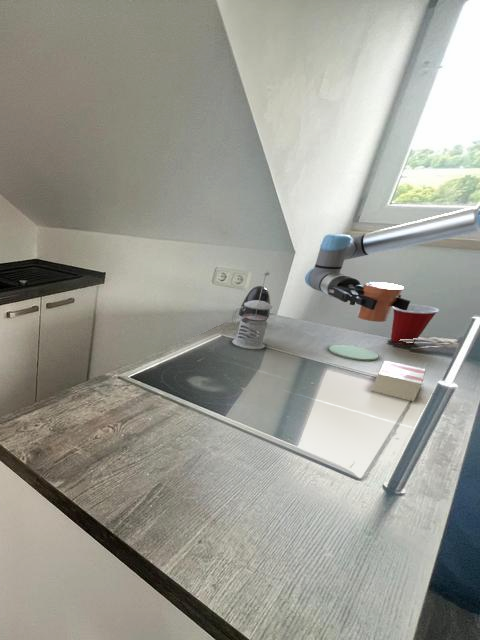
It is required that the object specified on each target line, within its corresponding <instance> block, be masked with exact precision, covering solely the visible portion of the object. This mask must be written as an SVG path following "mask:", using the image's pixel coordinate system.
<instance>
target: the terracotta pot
mask: <svg viewBox="0 0 480 640" xmlns="http://www.w3.org/2000/svg"><path fill="white" fill-rule="evenodd" d="M363 286H364V288H363V291H364V294H363V295H364V296H367V297H370V298H372V299H375V300H377V303H376V306H375V308H374V310H371V309H369V308H366V307H364V306H361V305H360V307H359V310H358V313H357V316H356V317H357V318H358V319H361V320H364V321H368V322H369V321H370V322H376V323H381V322H386V321H387V320H388V317H389V315H390V313H391V311H392V309H393V308H392V307H393V306H392V305H393V303H394V302H396V300H397V298H398V296H399V295H401V296H402V294H403V291H404V289H405V287H404V286H402V285H398V284H394V283H388V282H375V281H373V282H371V281H370V282H366V283H364V285H363Z"/></svg>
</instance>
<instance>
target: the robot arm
mask: <svg viewBox="0 0 480 640" xmlns="http://www.w3.org/2000/svg"><path fill="white" fill-rule="evenodd" d="M475 233H480V202H478V204H476V206H473V207H469V208H463V209H460V210H456V211H452V212H449V213H444V214H441V215H435V216H432V217H428V218H424V219H420V220H417V221H412V222H408V223H404V224H399V225H396V226H392V227H387V228H383V229H378V230H376V231H371V232H367V233H364V234H359V235H358V234H357V235H354V236H351V235H350V234H344V233H343V234H342V233H341V234H340V233H329V234H326V235H324V237H323V239H322V241H321V243H320V247H319V250H318V254H317V257H316V262H315V264H314V267H313V268H311V269H310V270H308V271H307V273H306V274H305V276H304V282H305V284H306V285H307V286H309V287H310V288H311V289H313V290H316V291H319V292H321V293H323V294H327V295H328V296H329V297H330V298H335V299H338V300H339V301H341V302H343V303H348V302H349V305H350V306H355V305H356V304H357V305H359V306H360V307H361V306H364V307H366V308H369V309H371V310H374V308H375V306H376V303H377V300H375V299H372V298H370V297H367V296H364V295H363V294H364V291H363V288H364V285H363V284H361V283H360V280H359V279H357V278H355V277H353V276H349V275H347V274H344V273H341V270H342V268H343V265H344V262H345V261H347V260H350V259H356V258H361V257H364V256H369V255H374V254H378V253H383V252H388V251H393V250H399V249H403V248H408V247H412V246H418V245H422V244H428V243H432V242H433V243H434V242H438V241H441V240H447V239H451V238H452V239H453V238H457V237H461V236H466V235H471V234H475ZM410 303H411V300H409V299H406V298H403V297H402V294H401V295H399V296H398V298H397V300H396V302H394V303H393V305H392V307H393V306H394V307H396V308H399V309H402V310H407V308H408V306H409V305H410Z"/></svg>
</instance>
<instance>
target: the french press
mask: <svg viewBox="0 0 480 640" xmlns="http://www.w3.org/2000/svg"><path fill="white" fill-rule="evenodd" d="M261 273H262V276H264V278H263V282H262V285H261V286H262V289H263V287H264V284H265V280H266V277H267V276H270V272H269V271H267V270H266V271H263V272H261ZM261 293H262V290H261ZM260 297H261V294H260ZM244 306H246V307H248V308H252V309H258V310H269V309H270V310H271V309H273V306H272V305H271V303H270V304H269V303H267V302H265V301H261V300H260V298H259V300H253V301H249V302H246V303H244ZM244 306H243V307H244ZM243 307H241V306H240V307H238V308H237V309H235V310H234V311H233V313H232V316H231V321H232V324H233V326H235V327H236V328H237V332H236V336H235V338H234V339H232V341H231V343H232V344H233V345H235V346H237V347H239V348H244V349H249V350H262V349H264V348H265V347H266V345H265V344H264V338H265V334H266V331H267V327H268V322H267V321H266V320H268V319H269V318H267V317H265V316H261V315H256V314H245V315H243V317H244V318H243V319H242V321H240V320H239V321H240V322H239V324H238V323H237V321H236V315H237V314H236V313H237V312H239V310H240V308H243ZM246 307H245V309H246ZM245 309H244V308H243V310H244V311H245ZM243 310H242V311H243ZM256 313H257V310H256ZM250 321H256V322H258V323H259V324H261V325H258V324H256V323H247V322H250Z"/></svg>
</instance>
